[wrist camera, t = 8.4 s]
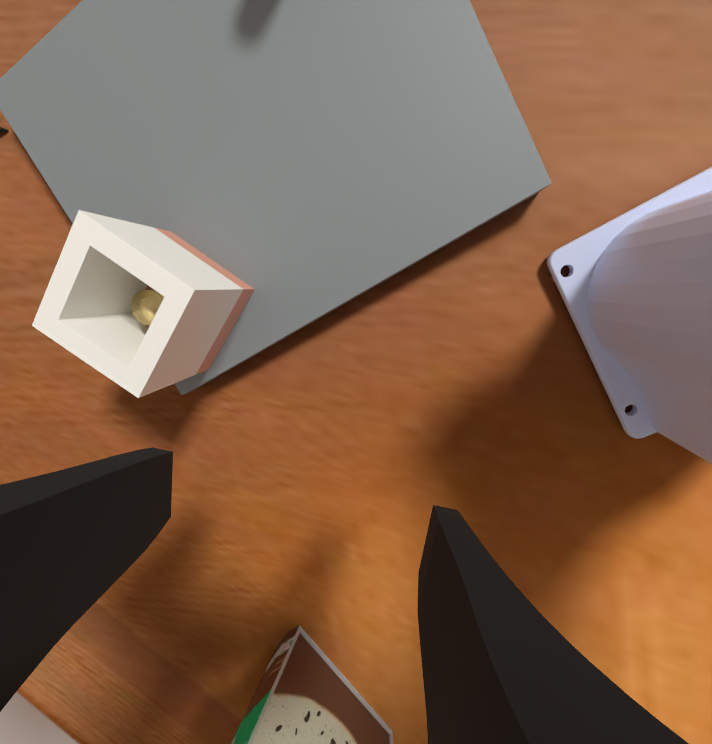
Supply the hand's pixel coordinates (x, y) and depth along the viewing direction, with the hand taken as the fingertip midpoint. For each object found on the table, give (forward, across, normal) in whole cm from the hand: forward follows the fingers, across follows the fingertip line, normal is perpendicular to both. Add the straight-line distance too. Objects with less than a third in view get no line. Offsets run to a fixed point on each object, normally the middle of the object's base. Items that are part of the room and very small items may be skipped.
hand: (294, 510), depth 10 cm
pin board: (+10, +6, -11) cm, 16 cm away
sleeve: (+8, +8, -4) cm, 12 cm away
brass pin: (+8, +8, -4) cm, 12 cm away
